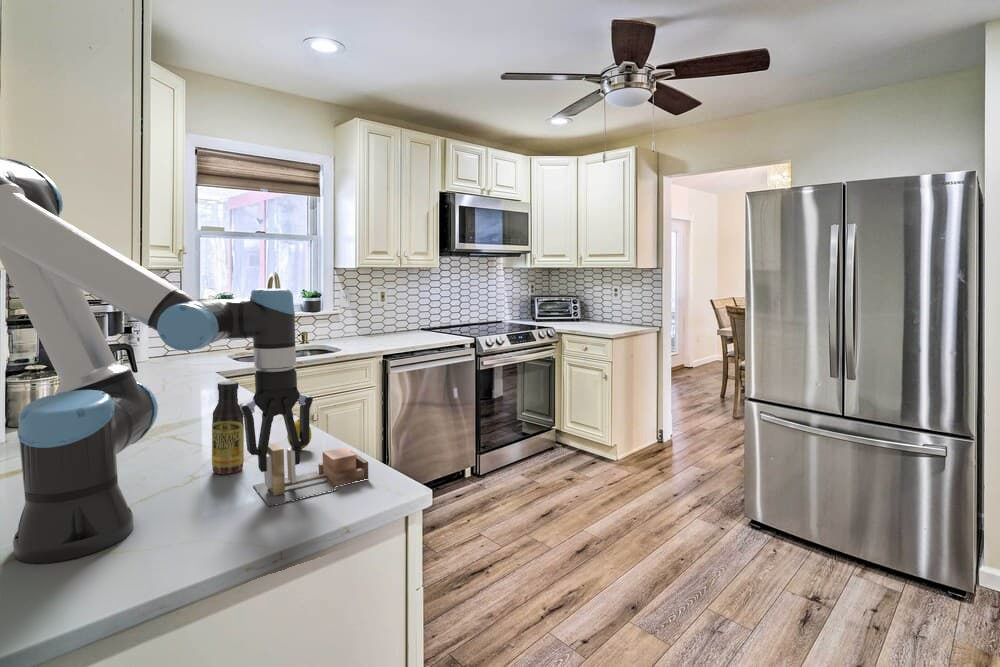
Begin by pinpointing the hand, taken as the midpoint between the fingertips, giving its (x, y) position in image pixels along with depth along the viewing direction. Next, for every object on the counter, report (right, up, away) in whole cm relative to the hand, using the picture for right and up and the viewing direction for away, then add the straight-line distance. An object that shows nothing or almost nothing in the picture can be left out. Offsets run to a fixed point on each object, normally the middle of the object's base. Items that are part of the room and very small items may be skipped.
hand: (280, 483), depth 105 cm
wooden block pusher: (+5, -1, +4) cm, 7 cm away
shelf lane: (+5, -1, +4) cm, 7 cm away
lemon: (-6, +1, +25) cm, 25 cm away
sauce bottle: (-16, -1, +11) cm, 19 cm away
